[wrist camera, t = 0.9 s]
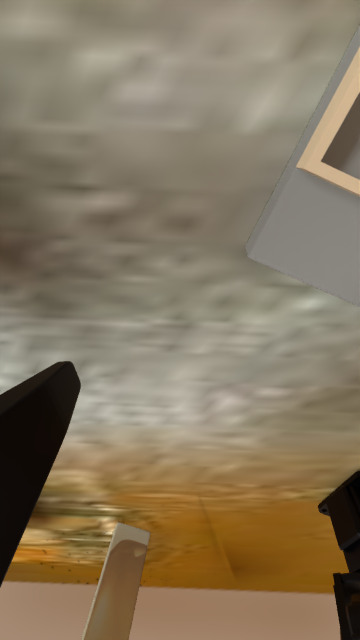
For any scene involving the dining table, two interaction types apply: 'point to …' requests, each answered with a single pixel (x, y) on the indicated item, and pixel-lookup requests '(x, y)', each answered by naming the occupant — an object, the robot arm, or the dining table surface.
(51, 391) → the robot arm
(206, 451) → the dining table surface
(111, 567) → the skincare box
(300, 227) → the deck
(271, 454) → the dining table surface
